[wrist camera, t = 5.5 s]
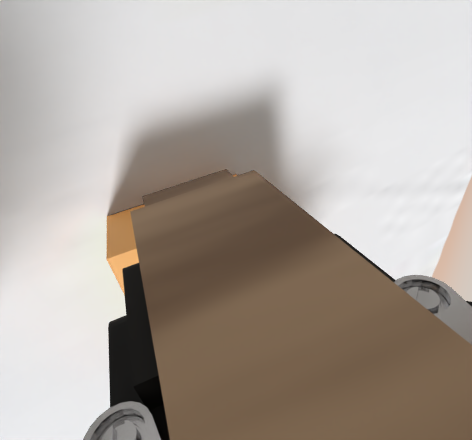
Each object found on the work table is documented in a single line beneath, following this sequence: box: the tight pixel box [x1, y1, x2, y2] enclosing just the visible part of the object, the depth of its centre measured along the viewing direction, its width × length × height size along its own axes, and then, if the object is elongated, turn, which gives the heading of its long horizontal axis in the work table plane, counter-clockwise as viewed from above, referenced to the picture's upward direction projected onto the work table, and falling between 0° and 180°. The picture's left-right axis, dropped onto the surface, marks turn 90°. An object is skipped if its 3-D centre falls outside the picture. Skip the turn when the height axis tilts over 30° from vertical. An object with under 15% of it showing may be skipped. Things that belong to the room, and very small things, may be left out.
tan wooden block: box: [130, 169, 472, 440], centre depth 8 cm, size 5×4×12 cm
